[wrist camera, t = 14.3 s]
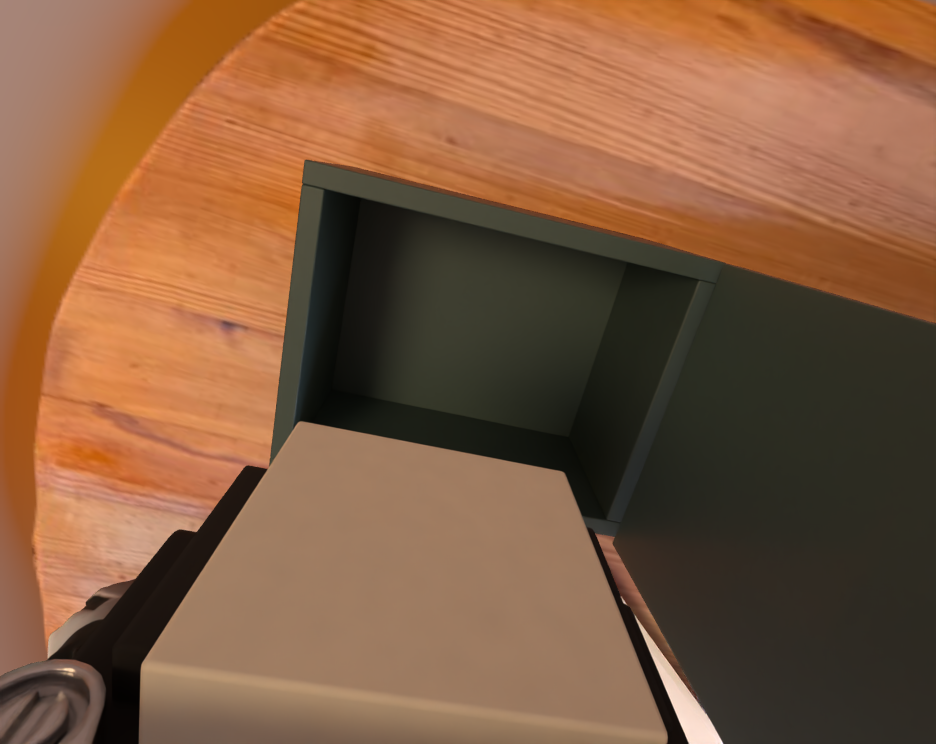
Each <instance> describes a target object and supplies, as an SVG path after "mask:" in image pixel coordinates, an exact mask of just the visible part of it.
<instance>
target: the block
mask: <svg viewBox="0 0 936 744" xmlns="http://www.w3.org/2000/svg"><path fill="white" fill-rule="evenodd" d="M667 741H668V736H667V731H666V728H665V726H664V723H663V721H662V718H661V716H660V713H659V711H658V708H657V706H656V703H655V700H654V698H653V695H652V693H651V690H650V688H649V685H648V683H647V680H646V678H645V675H644V673H643V670H642V668H641V665H640V662H639V660H638V657H637V655H636V652H635V650H634V647H633V645H632V642H631V640H630V637H629V635H628V632H627V629H626V627H625V624H624V622H623V619H622V617H621V614H620V612H619V609H618V607H617V604H616V602H615V599H614V596H613V594H612V591H611V589H610V586H609V584H608V581H607V579H606V576H605V574H604V571H603V569H602V566H601V564H600V561H599V558H598V556H597V553H596V551H595V548H594V546H593V543H592V541H591V538H590V536H589V533H588V531H587V528H586V525H585V523H584V520H583V518H582V515H581V513H580V510H579V508H578V505H577V503H576V500H575V498H574V495H573V493H572V490H571V487H570V485H569V482H568V480H567V477H566V475H565V473H564V472H562V471H557V470H552V469H547V468H542V467H536V466H531V465H526V464H521V463H516V462H510V461H505V460H500V459H495V458H490V457H485V456H479V455H474V454H469V453H464V452H459V451H453V450H448V449H443V448H438V447H433V446H427V445H422V444H417V443H412V442H407V441H402V440H396V439H391V438H386V437H381V436H376V435H370V434H365V433H360V432H355V431H350V430H344V429H339V428H334V427H329V426H324V425H319V424H313V423H308V422H303V421H301V422H298V423H297V425H296V426H295V428H294V429H293V431H292V433H291V434H290V436H289V437H288V439H287V440H286V442H285V443H284V445H283V446H282V448H281V450H280V451H279V453H278V454H277V456H276V457H275V459H274V460H273V462H272V463H271V465H270V467H269V468H268V470H267V471H266V473H265V474H264V476H263V477H262V479H261V480H260V482H259V484H258V485H257V487H256V488H255V490H254V491H253V493H252V494H251V496H250V497H249V499H248V500H247V502H246V504H245V505H244V507H243V508H242V510H241V511H240V513H239V514H238V516H237V517H236V519H235V521H234V522H233V524H232V525H231V527H230V528H229V530H228V531H227V533H226V534H225V536H224V538H223V539H222V541H221V542H220V544H219V545H218V547H217V548H216V550H215V551H214V553H213V555H212V556H211V558H210V559H209V561H208V562H207V564H206V565H205V567H204V568H203V570H202V572H201V573H200V575H199V576H198V578H197V579H196V581H195V582H194V584H193V585H192V587H191V589H190V590H189V592H188V593H187V595H186V596H185V598H184V599H183V601H182V602H181V604H180V605H179V607H178V609H177V610H176V612H175V613H174V615H173V616H172V618H171V619H170V621H169V622H168V624H167V626H166V627H165V629H164V630H163V632H162V633H161V635H160V636H159V638H158V639H157V641H156V643H155V644H154V646H153V647H152V649H151V650H150V652H149V653H148V655H147V656H146V658H145V660H144V661H143V663H142V665H141V678H140V715H139V744H667Z"/></svg>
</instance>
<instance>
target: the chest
mask: <svg viewBox="0 0 936 744" xmlns="http://www.w3.org/2000/svg"><path fill="white" fill-rule="evenodd" d="M302 183H303V185H302V189H301V197H300V206H299V215H298V223H297V232H296V240H295V249H294V258H293V266H292V275H291V283H290V292H289V301H288V309H287V318H286V326H285V335H284V343H283V352H282V361H281V369H280V378H279V386H278V395H277V404H276V412H275V421H274V429H273V438H272V447H271V455H270V456H271V458H270V464H269V467H270V465H271V463H272V462H273V460H274V459H275V457H276V456H277V454H278V453H279V451H280V450H281V448H282V446H283V445H284V443H285V442H286V440H287V439H288V437H289V436H290V434H291V433H292V431H293V429H294V428H295V426H296V425H297V423H298V422H301V421H303V422H308V423H313V424H319V425H324V426H329V427H334V428H339V429H344V430H350V431H355V432H360V433H365V434H370V435H376V436H381V437H386V438H391V439H396V440H402V441H407V442H412V443H417V444H422V445H427V446H433V447H438V448H443V449H448V450H453V451H459V452H464V453H469V454H474V455H479V456H485V457H490V458H495V459H500V460H505V461H510V462H516V463H521V464H526V465H531V466H536V467H542V468H547V469H552V470H557V471H562V472H564V473H565V475H566V477H567V480H568V482H569V485H570V487H571V490H572V493H573V495H574V498H575V500H576V503H577V505H578V508H579V510H580V513H581V515H582V518H583V520H584V523H585V525H586V527H589V528H592V529H593V531H594V532H595V533H597V534H602V535H608V536H613V537H615V536H616V533H617V531H618V528H619V526H620V523H621V521H622V518H623V516H624V513H625V511H626V508H627V506H628V503H629V501H630V498H631V496H632V493H633V491H634V488H635V486H636V483H637V481H638V478H639V476H640V473H641V471H642V468H643V466H644V463H645V461H646V458H647V456H648V453H649V451H650V448H651V446H652V443H653V441H654V438H655V436H656V433H657V431H658V428H659V426H660V423H661V421H662V418H663V416H664V413H665V411H666V408H667V406H668V403H669V401H670V398H671V396H672V393H673V391H674V388H675V386H676V383H677V381H678V379H679V376H680V374H681V371H682V369H683V366H684V364H685V361H686V359H687V356H688V354H689V351H690V349H691V346H692V344H693V341H694V339H695V336H696V334H697V331H698V329H699V326H700V324H701V321H702V319H703V316H704V314H705V311H706V309H707V306H708V304H709V301H710V299H711V296H712V294H713V291H714V289H715V286H716V284H717V281H718V279H719V276H720V274H721V271H722V269H723V266H724V264H726V263H724V262H720V261H717V260H714V259H710V258H707V257H703V256H700V255H697V254H693V253H690V252H687V251H683V250H680V249H677V248H673V247H670V246H666V245H663V244H660V243H656V242H653V241H650V240H646V239H643V238H639V237H635V236H631V235H626V234H622V233H618V232H614V231H610V230H606V229H602V228H598V227H594V226H590V225H586V224H582V223H578V222H574V221H570V220H566V219H562V218H558V217H554V216H550V215H546V214H542V213H538V212H534V211H529V210H525V209H521V208H517V207H513V206H509V205H505V204H501V203H497V202H493V201H489V200H485V199H481V198H477V197H473V196H469V195H465V194H461V193H457V192H453V191H449V190H445V189H441V188H437V187H432V186H428V185H424V184H420V183H416V182H412V181H408V180H404V179H400V178H396V177H392V176H388V175H384V174H380V173H376V172H372V171H368V170H364V169H360V168H356V167H351V166H344V165H338V164H331V163H325V162H318V161H312V160H305V162H304V171H303V179H302Z"/></svg>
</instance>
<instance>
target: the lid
mask: <svg viewBox="0 0 936 744" xmlns="http://www.w3.org/2000/svg"><path fill="white" fill-rule="evenodd" d="M613 545H614V547H615V549H616V551H617V552H618V554H619V556H620V558H621V560H622V562H623V563H624V565H625V567H626V569H627V571H628V572H629V574H630V576H631V578H632V580H633V581H634V583H635V585H636V587H637V589H638V590H639V592H640V594H641V596H642V598H643V599H644V601H645V603H646V605H647V607H648V609H649V610H650V612H651V614H652V616H653V618H654V619H655V621H656V623H657V625H658V627H659V628H660V630H661V632H662V634H663V636H664V637H665V639H666V641H667V643H668V645H669V646H670V648H671V650H672V652H673V654H674V656H675V657H676V659H677V661H678V663H679V665H680V666H681V668H682V670H683V672H684V674H685V675H686V677H687V679H688V681H689V683H690V684H691V686H692V688H693V690H694V692H695V694H696V695H697V697H698V699H699V701H700V703H701V704H702V706H703V708H704V710H705V712H706V713H707V715H708V717H709V719H710V721H711V722H712V724H713V726H714V728H715V730H716V731H717V733H718V735H719V737H720V739H721V741H722V742H723V744H936V323H933V322H929V321H926V320H922V319H919V318H915V317H912V316H908V315H905V314H902V313H898V312H895V311H891V310H888V309H884V308H881V307H877V306H874V305H870V304H867V303H863V302H860V301H857V300H853V299H850V298H846V297H843V296H839V295H836V294H832V293H829V292H825V291H822V290H818V289H815V288H812V287H808V286H805V285H801V284H798V283H794V282H791V281H787V280H784V279H780V278H777V277H773V276H770V275H766V274H763V273H760V272H756V271H753V270H749V269H746V268H742V267H738V266H734V265H730V264H724V266H723V269H722V271H721V274H720V276H719V279H718V281H717V284H716V286H715V289H714V291H713V294H712V296H711V299H710V301H709V304H708V306H707V309H706V311H705V314H704V316H703V319H702V321H701V324H700V326H699V329H698V331H697V334H696V336H695V339H694V341H693V344H692V346H691V349H690V351H689V354H688V356H687V359H686V361H685V364H684V366H683V369H682V371H681V374H680V376H679V379H678V381H677V383H676V386H675V388H674V391H673V393H672V396H671V398H670V401H669V403H668V406H667V408H666V411H665V413H664V416H663V418H662V421H661V423H660V426H659V428H658V431H657V433H656V436H655V438H654V441H653V443H652V446H651V448H650V451H649V453H648V456H647V458H646V461H645V463H644V466H643V468H642V471H641V473H640V476H639V478H638V481H637V483H636V486H635V488H634V491H633V493H632V496H631V498H630V501H629V503H628V506H627V508H626V511H625V513H624V516H623V518H622V521H621V523H620V526H619V528H618V531H617V533H616V536H615V538H614V541H613Z"/></svg>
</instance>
